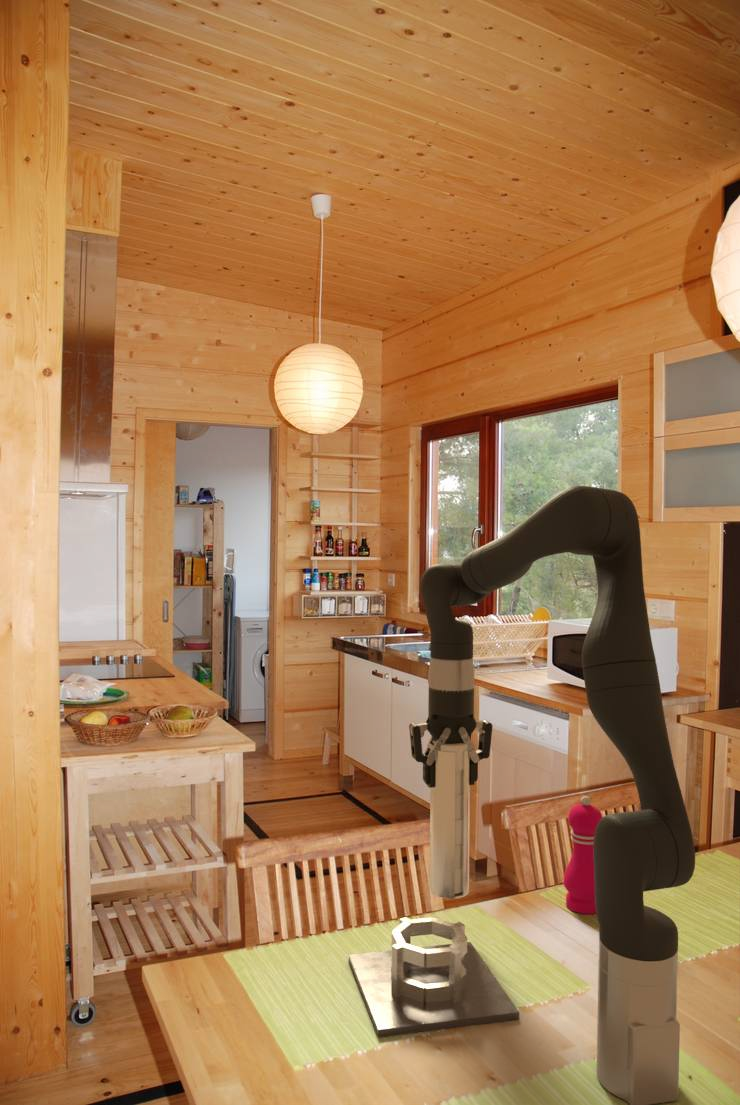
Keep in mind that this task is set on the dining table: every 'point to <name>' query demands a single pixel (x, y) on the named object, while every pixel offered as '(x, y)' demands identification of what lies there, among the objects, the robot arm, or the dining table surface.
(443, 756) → the cream peg
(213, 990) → the dining table surface
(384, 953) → the collar stand
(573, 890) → the pepper mill
